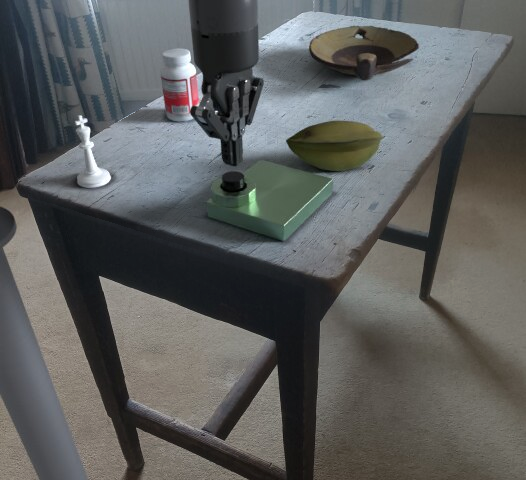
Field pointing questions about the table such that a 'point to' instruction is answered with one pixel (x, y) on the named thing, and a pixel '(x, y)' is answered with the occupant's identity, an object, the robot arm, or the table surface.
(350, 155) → the fruit
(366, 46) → the broken bowl
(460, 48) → the table surface
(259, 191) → the scale
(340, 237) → the table surface
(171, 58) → the pill bottle
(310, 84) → the table surface
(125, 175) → the table surface
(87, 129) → the chess piece
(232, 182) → the button
